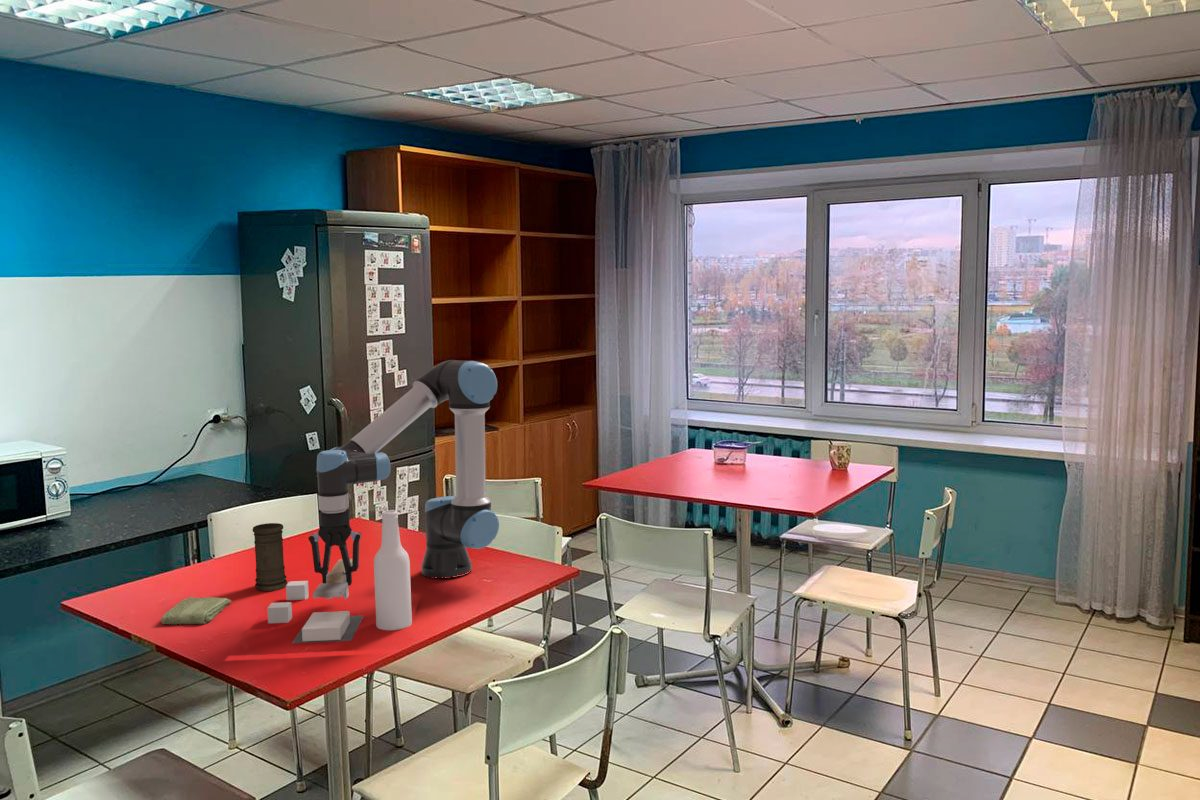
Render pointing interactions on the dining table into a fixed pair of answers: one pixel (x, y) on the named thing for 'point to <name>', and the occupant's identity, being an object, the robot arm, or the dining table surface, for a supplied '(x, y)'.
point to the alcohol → (392, 578)
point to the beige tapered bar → (333, 583)
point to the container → (269, 557)
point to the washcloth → (195, 610)
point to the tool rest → (284, 610)
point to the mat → (346, 636)
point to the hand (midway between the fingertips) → (338, 597)
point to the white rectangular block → (326, 626)
